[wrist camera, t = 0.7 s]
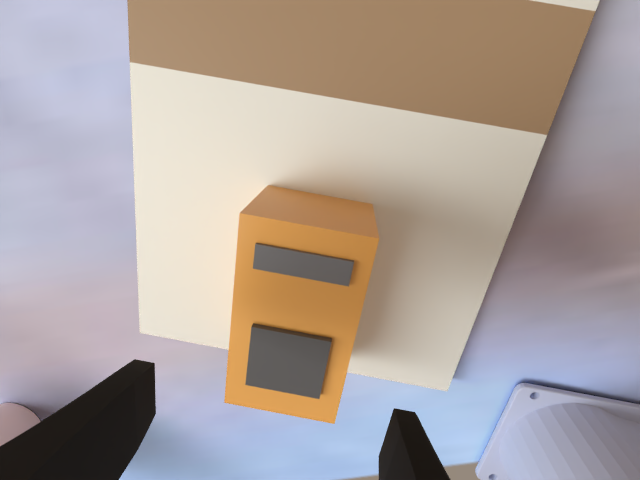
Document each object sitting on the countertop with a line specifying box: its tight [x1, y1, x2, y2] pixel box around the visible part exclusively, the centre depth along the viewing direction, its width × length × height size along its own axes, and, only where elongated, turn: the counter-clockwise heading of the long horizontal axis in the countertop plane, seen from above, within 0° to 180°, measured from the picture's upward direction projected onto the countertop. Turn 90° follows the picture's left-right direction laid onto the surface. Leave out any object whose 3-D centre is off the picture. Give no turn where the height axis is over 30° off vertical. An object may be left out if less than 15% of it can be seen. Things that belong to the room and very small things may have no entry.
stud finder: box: [224, 185, 379, 424], centre depth 16 cm, size 5×9×5 cm, turn 171°
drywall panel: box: [128, 0, 600, 391], centre depth 16 cm, size 18×23×1 cm
